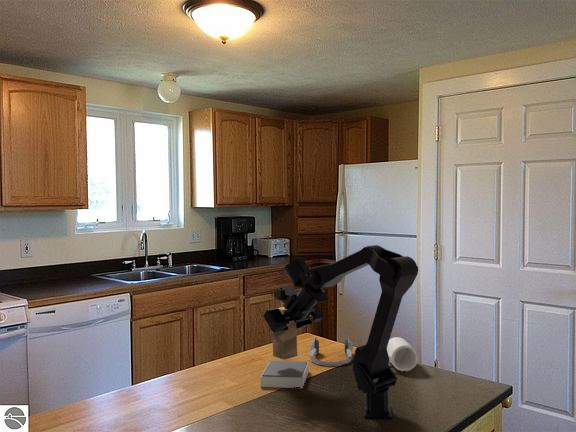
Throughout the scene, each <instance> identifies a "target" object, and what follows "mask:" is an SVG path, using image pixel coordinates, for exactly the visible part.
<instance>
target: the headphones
mask: <svg viewBox="0 0 576 432" xmlns="http://www.w3.org/2000/svg"><path fill="white" fill-rule="evenodd" d="M359 340H360V341H362V338H359ZM360 341H358V340H357V342H360ZM319 342H320V341H319V339H317V337H315V338H314V339H312V341H311V343H310V346H309V347H310V350H311V351H310V361H311V362H312V363H314V364H315V365H317V366H323V367H341V366H344V365H346V364H348V363H350V362H351V361H352V360H353V356H352V355H353V353H352V352H353V350H354V344H353V341H352V340H351V339H350V338H346V339H345V340H344V354H345V355H346V358H345V359H342V360H338V361H323V360H320V359H317V358H315V356H317V355H318V354H319V352H320V343H319Z"/></svg>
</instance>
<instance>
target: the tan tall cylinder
mask: <svg viewBox="0 0 576 432" xmlns="http://www.w3.org/2000/svg"><path fill="white" fill-rule="evenodd" d="M287 327H288V330H286V331H284V332H283V333H281V334H279V335H277V336H275V335H274V333H273V331H272V330H271V332H272V357H274V358H277V359H280V360H283V361H286V360H288V359H292V358H296V357H298V338H297V337H298V335H297V332H298V331H297V330H298V329H297V328H296V323H295V322H294V321H292V322H289V324H288V325H287Z"/></svg>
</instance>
